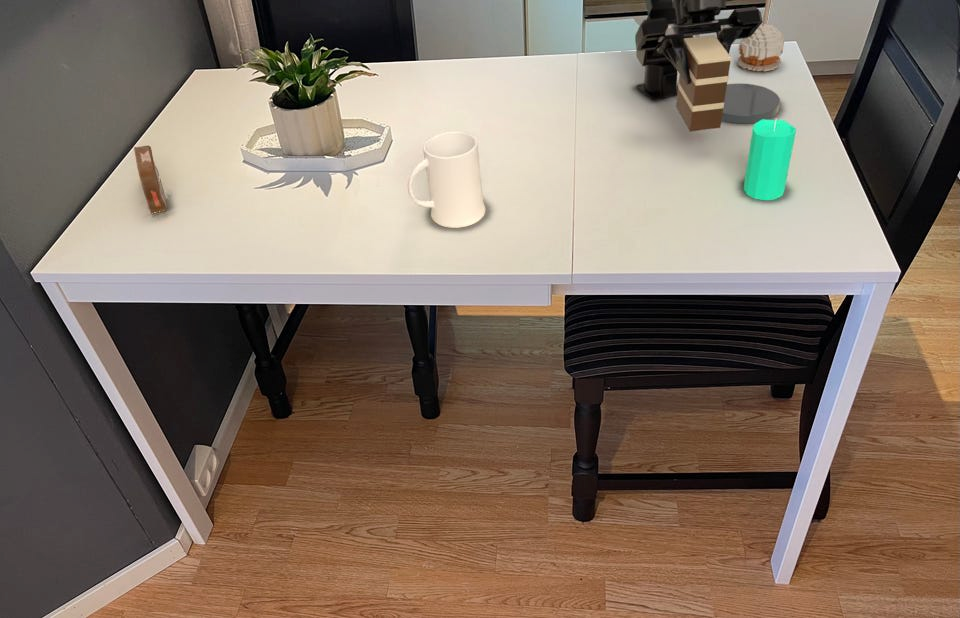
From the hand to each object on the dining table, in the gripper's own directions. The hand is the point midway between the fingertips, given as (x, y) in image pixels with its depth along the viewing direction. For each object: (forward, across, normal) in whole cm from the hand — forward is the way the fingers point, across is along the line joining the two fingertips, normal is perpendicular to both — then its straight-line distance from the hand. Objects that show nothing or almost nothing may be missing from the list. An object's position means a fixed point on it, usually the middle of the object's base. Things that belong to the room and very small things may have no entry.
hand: (705, 81), depth 123 cm
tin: (+5, -91, +13) cm, 92 cm away
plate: (-1, +12, +19) cm, 22 cm away
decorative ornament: (-12, +21, +30) cm, 39 cm away
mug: (+16, -42, +2) cm, 45 cm away
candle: (+18, +6, -1) cm, 19 cm away
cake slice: (+4, 0, +6) cm, 7 cm away
